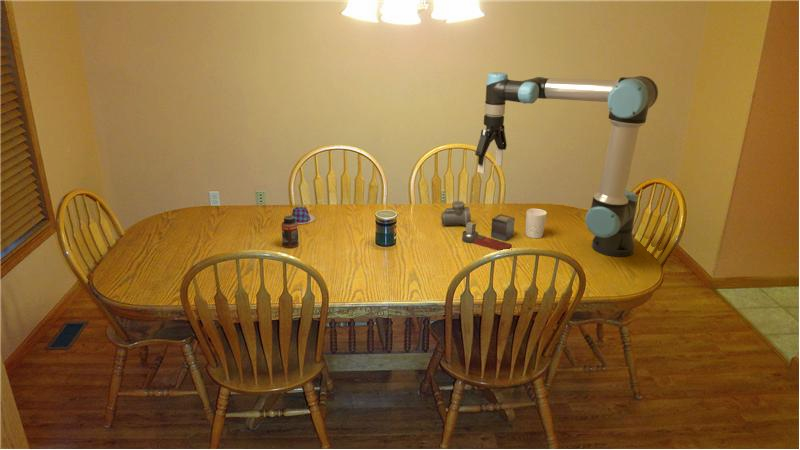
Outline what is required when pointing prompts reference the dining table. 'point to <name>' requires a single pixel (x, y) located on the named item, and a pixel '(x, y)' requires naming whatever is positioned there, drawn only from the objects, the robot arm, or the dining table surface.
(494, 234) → the dark metal cube
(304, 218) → the purple plaid hat
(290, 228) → the supplement bottle
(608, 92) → the robot arm
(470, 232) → the ratchet
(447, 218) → the pipe fitting
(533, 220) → the white cup
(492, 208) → the dining table surface
